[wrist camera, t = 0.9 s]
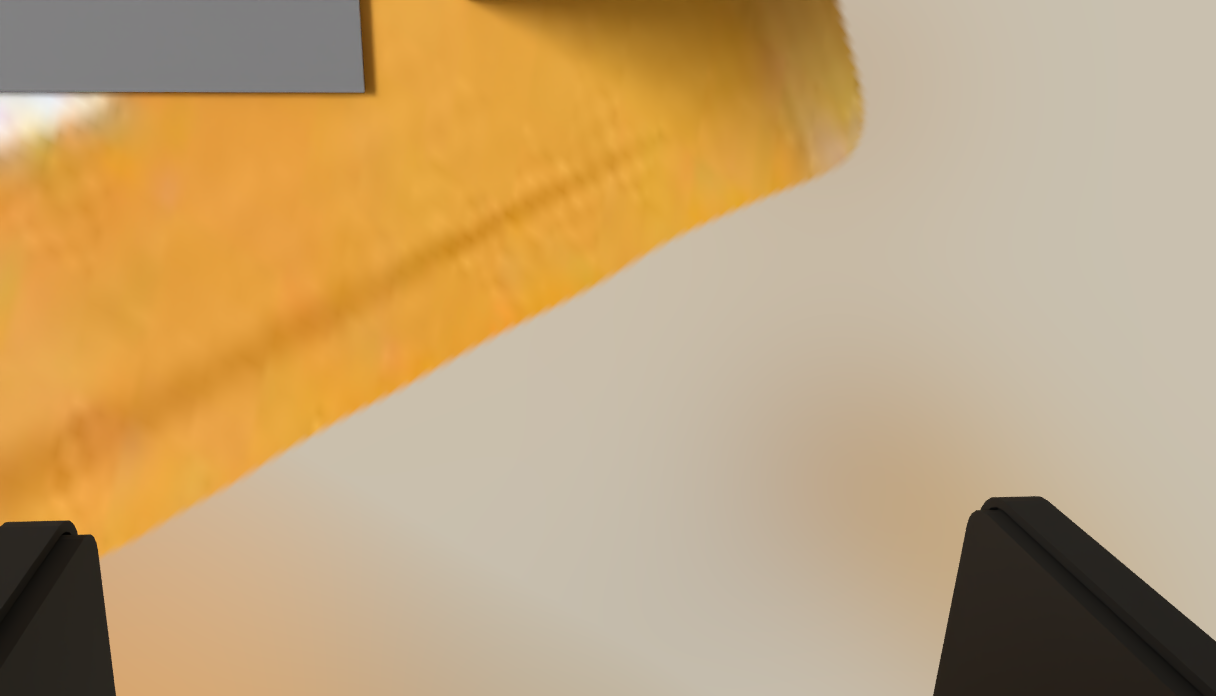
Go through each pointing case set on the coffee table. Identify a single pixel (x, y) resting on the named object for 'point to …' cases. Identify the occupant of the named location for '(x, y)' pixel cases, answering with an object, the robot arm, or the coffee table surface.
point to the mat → (181, 46)
